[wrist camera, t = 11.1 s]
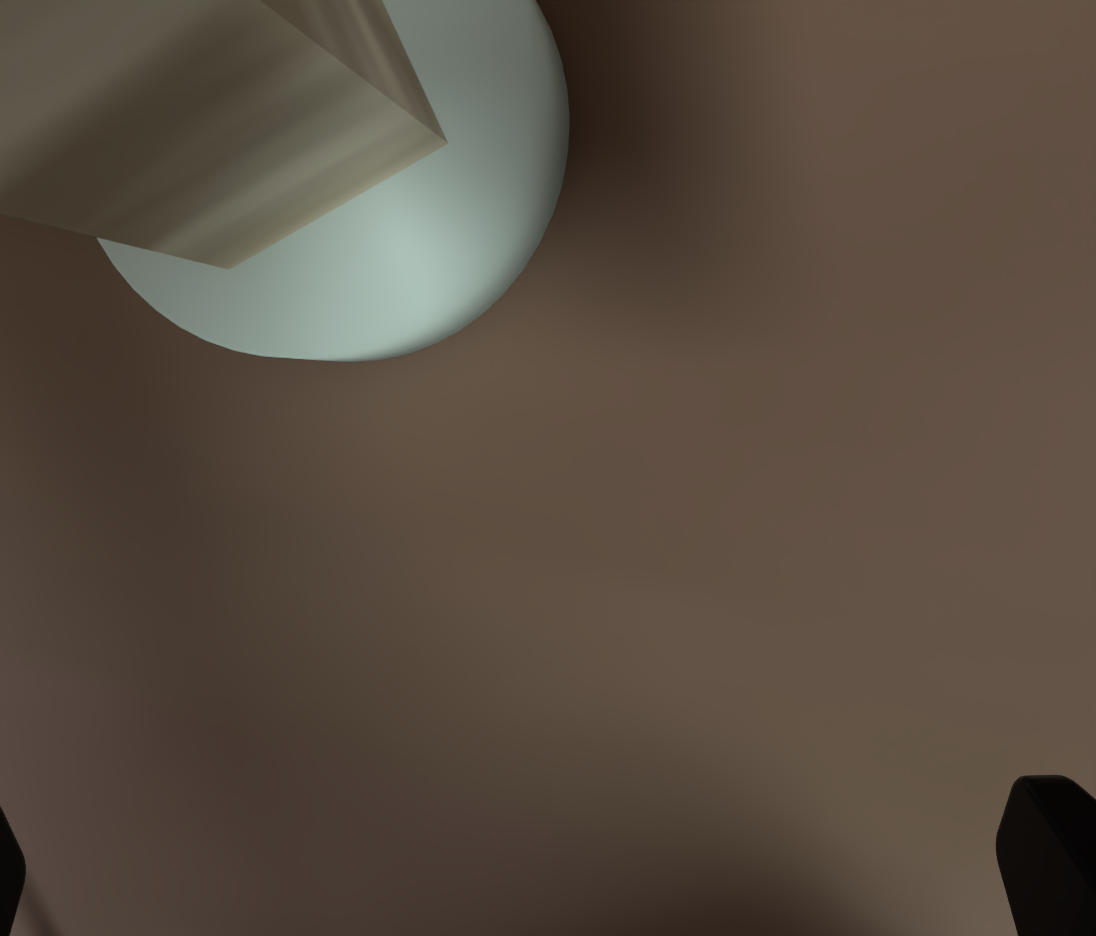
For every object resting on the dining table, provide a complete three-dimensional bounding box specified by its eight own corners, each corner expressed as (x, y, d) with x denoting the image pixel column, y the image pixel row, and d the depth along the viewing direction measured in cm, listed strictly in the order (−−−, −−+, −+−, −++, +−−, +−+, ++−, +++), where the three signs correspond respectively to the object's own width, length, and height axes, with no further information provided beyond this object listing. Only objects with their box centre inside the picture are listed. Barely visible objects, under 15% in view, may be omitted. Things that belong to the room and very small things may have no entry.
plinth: (401, 450, 21) (337, 458, 18) (90, 199, 22) (-16, 170, 19) (666, 72, 19) (642, 16, 16) (311, -176, 21) (231, -270, 18)
